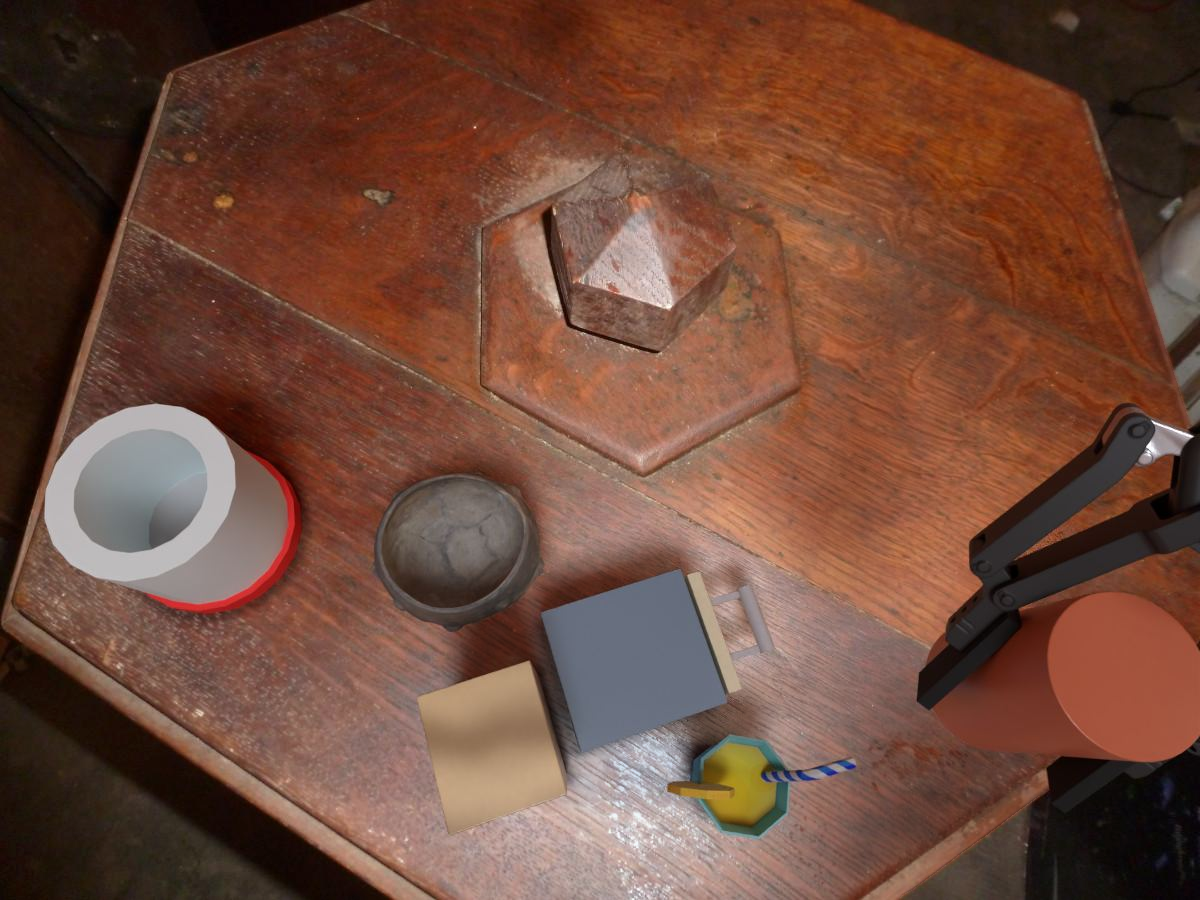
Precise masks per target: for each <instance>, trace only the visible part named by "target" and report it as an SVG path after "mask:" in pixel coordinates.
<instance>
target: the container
mask: <svg viewBox="0 0 1200 900" xmlns="http://www.w3.org/2000/svg"><path fill="white" fill-rule="evenodd" d="M44 492H45V495H44V517H43V519H44V522H45V525H46V528H47V531H48V534H49V537H50V540H51V544H52V545H53V547H54V548H55V549H56V550H57V551H58V552H59V554H61V556H62V557H63V558H64V559H65V560H66V562H67V563H68V564H69V565H71V566H72V567H74V568H76V569H78V570H79V571H82V572H83V573H86V574H87V575H89V576H91V577H93V578H95V579H98V580H101V581H104V582H105V581H106V582H109V583H111V584H115V585H119V586H122V587H126V588H129V589H132V590H134V591H135V590H136V591H139V592H142V593H145V595H147V596H148V597H149V598H151V599H153V600H155V601H158V602H159V603H162V604H163V605H165V606H167V607H169V608H172V609H175V610H178V611H182V612H189V613H197V614H205V615H210V614H217V613H220V612H226V611H232V610H237V609H238V608H240V607H242V606H244V605H246V604H248V603H250V602H252V601H254V600H256V599H259V598H260V597H262V595H264V594H265V593H266V592H267V591H268V590H269V589H270V588H271V587H273V586H274V585H275V584H276V583H277V582H279V580H281V578H282V577H283V575H284V574H285V572H286V571H287V569H288V567H289V566H290V564H291V563H292V561H293V559H294V558H295V556H296V553H297V551H298V546H299V542H300V538H301V534H302V531H303V527H302V525H303V524H302V513H301V504H300V501H299V499H298V497H297V495H296V492H295V490H294V488H293V486H292V484H291V482H290V481H289V480H288V479H287V478H286V477H285V476H284V475H283V474H282V473H281V472H280V471H279V470H278V469H277V468H276V466H274V465H273V464H271V462H269V461H268V460H266V459H265V458H262V457H260V456H258V455H256V454H254V453H252V452H250V451H248V450H245V449H243V447H241V446H240V445H239V444H238V443H237V442H235V440H233V439H232V438H230V437H229V436H228V435H227V434H226V433H224V432H223V431H222V430H221V429H220V428H219V427H218V426H216V425H215V424H214V423H212V422H211V421H210V420H209V419H208V418H206V417H204V416H202V415H200V414H197V413H196V412H194V411H191V410H190V409H188V408H185V407H183V406H175V405H168V404H160V403H152V404H144V405H139V406H130V407H125V408H124V409H121V410H120V411H119V410H118V411H116V412H115V413H112V414H110V415H107V416H105V417H103V418H100V419H98V420H96V422H94V423H93V424H91V426H89V427H88V428H87V429H85V430H84V431H82V433H80V434H79V435H78V436H76V437H75V438H74V439H73V440H72V442H71V443H70V444H69V445H68V446H67V448H66V449H65V451H64V452H63V453H62V455H61V456H60V458H58V460H57V461H56V462H55V465H54V468H53V470H52V473H51V475H50V478H49V481H48V483H47V486H46V489H45V491H44Z"/></svg>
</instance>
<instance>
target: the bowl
mask: <svg viewBox="0 0 1200 900" xmlns="http://www.w3.org/2000/svg"><path fill="white" fill-rule="evenodd" d="M521 493H522V492H521V490H520V489H519V488H518V487H516V485H514V484H505V483H503V482H501V481H499V480H497V479H495V478H492V477H489V476H486V475H483V474H482V473H481V472H479V471H478V472H473V471H472V472H451V473H444V474H439V475H435V476H432V477H428V478H424V479H422V480H419V481H417V482H415V483H413V484H411V485H409V486H408V487H406V488H404V489H401V490H397V491H396V492H395V493H394V494H393V495H392V496H391V500H390V503H389V504H388V506H387V507H386V510H385V512H384V513H383V514H382V517H381V519H380V521H379V523H378V526H377V528H376V533H375V538H374V544H373V545H374V546H373V564H372V566H371V571H372V572H371V575H372V577H373V578H375V579H378V580H380V583H381V584H382V586H383V588H384V589H385V591H386V592H387V593H388V595H389V596H390V597H391V599H392V602H393V603H392V604H393V605H394V606H395V607H396V608H397V609H399V610H400V611H403V612H407V613H408V614H409V615H411V616H412V617H414V618H415V619H417V620H419V621H421V622H424V623H428V624H429V623H430V624H434V625H438V626H440V627H442V628H444V630H446V631H447V632H448V633H458V632H460V630H462V629H463V627H466V626H468V625H473V624H477V623H480V622H482V621H485V620H487V619H489V618H492V617H494V616H495V615H497V614H500V613H501V612H503V611H505V610H508V609H509V608H510V607H511V606H513V605H514V604H516V603H517V602H518V601H519V600H520V599H521V598H522V597H523V596H524V595H525V594H526V593H527V591H528V589H530V587H531V586H532V584H533V583H534V581H536V580H537V579H538V578H539V577H540V576H542V575H543V574H544V573H545V567H546V563H545V561H544V559H543V558H542V556H541V533H540V529H539V526H538V522H537V519H536V516H535V515H534V513H533V511H532V509H531V508H530V506H529V505H528V503H527V501H526V500H525V499H524V497H523V495H522V494H521Z"/></svg>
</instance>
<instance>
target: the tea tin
mask: <svg viewBox="0 0 1200 900" xmlns="http://www.w3.org/2000/svg"><path fill="white" fill-rule="evenodd" d="M1019 613H1020V620H1021V629H1020V630H1018V631H1017V632H1016V633H1015V634H1014V635H1013V636H1012V637H1011V638H1010V639H1009V640H1008V641H1007V642H1005V643H1004V644H1003V645H1002V646H1001V647H1000V648H999V649H998V650H997V651H995V652H994V653H993V654H992V655H991V656H990V657H989V658H988V659H986V660H985V661H984V662H983V663H982V664H981V665H980V666H979V667H978V668H976V669H975V670H974V671H973V672H972V673H971V674H970V675H969V676H967V677H966V678H965V679H964V680H963V681H962V682H961V683H960V684H959V685H957V686H956V687H955V688H954V689H953V690H952V691H951V692H950V693H948V694H947V695H946V696H945V697H944V698H943V699H942V700H941V701H940V702H938V703H937V704H936V705H935V706H934V707H933V708H932V709H931V710H933V712H934V714H935V716H936V718H937V719H938V720H939V722H940V723H941V725H943V727H944V728H945V729H946V730H948V732H950V733H951V734H952V736H954V737H955V738H957V739H958V740H960V741H962V742H963V743H964V744H966V745H968V746H971V747H973V748H977V749H980V750H985V751H990V752H1002V753H1003V752H1005V753H1015V754H1016V753H1018V754H1030V755H1044V756H1053V757H1054V756H1055V757H1061V756H1068V757H1081V758H1094V759H1107V760H1120V761H1133V762H1157V761H1163V760H1166V759H1170V758H1172V759H1174V758H1175V757H1177V756H1178V755H1180V754H1182V753H1184V752H1185V751H1187V750H1186V749H1188V748H1189V747H1190V746H1191V745H1192V744H1193V743H1194V742H1195V741H1196V740H1197V739H1198V737H1199V736H1200V651H1199V649H1198V647H1197V643H1196V642H1195V641H1194V639H1193V637H1192V636H1191V634H1190V633H1189V632H1188V631H1187V630H1186V629H1185V627H1184V626H1183V625H1182V624H1181V623H1180V622H1179V621H1178V620H1177V619H1176V618H1175V617H1174V616H1173V615H1172V614H1170V613H1169V612H1168V611H1167V610H1165V609H1164V608H1162V607H1161V606H1160V605H1158V604H1156V603H1154V602H1152V601H1151V600H1148V599H1146V598H1144V597H1142V596H1138V595H1136V594H1133V593H1128V592H1123V591H1114V590H1112V591H1111V590H1110V591H1109V590H1105V591H1097V592H1093V593H1088V594H1084V595H1080V596H1075V597H1071V598H1066V599H1062V600H1058V601H1054V602H1049V603H1046V604H1041V605H1038V606H1033V607H1028V608H1025V609H1021V610H1020V609H1019ZM948 645H949V643H948V642H946V641H945V632H943V633H942V634H941V635H940V636H939V637H938V638H937V639H936V641H935V642H934V643H933V644H932V647H931V648H930V650H929V652H928V655H927V657H926V662H925V666H926V665H927V664H929V663H930V662H931V661H932V660H933V659H934V658H935V657H936V656H937V655H938V654H939V653H940V652H941V651H942V650H943V649H945V648H946V647H947V646H948ZM925 666H924V667H925Z"/></svg>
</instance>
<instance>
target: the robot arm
mask: <svg viewBox="0 0 1200 900" xmlns="http://www.w3.org/2000/svg"><path fill="white" fill-rule="evenodd" d="M1171 455H1172V456H1173V460H1172V469H1171V477H1170V484H1169V488H1166V489H1163V490H1161V491H1159V492H1157V493H1155V494H1153V495H1150V496H1148V497H1145V498H1143V499H1141V500H1139V501H1137V502H1135V503H1134V504H1132V506H1131V507H1130V508H1129V509H1128V510H1127V511H1124V512H1122V513H1120V514H1118V515H1115V516H1113V517H1111V518H1107V519H1106V520H1103V521H1101V522H1099V523H1097V524H1094V525H1092V526H1090V527H1088V528H1085V529H1083V530H1080V531H1079V532H1076V533H1074V534H1072V535H1069V536H1067V537H1065V538H1062V539H1060V540H1058V541H1055V542H1053V543H1051V544H1048V545H1046V546H1044V547H1042V548H1038V549H1036V550H1035V551H1033V552H1030V553H1028V554H1025V552H1027V551H1028V550H1030V549H1031V548H1032V547H1034V546H1035V545H1036V544H1038V543H1040V541H1042V540H1043V539H1044V538H1046V537H1047V536H1049V535H1050V534H1052V533H1053V532H1054V531H1055V530H1056V529H1058V528H1059V527H1061V526H1063V524H1066V522H1067V521H1069V520H1070V519H1071V518H1072V517H1074V516H1076V515H1077V514H1078V513H1080V512H1081V511H1082V510H1083V509H1085V508H1087V506H1089V505H1090V504H1091V503H1093V502H1094V501H1096V500H1097V499H1098V498H1100V497H1101V496H1102V495H1103V494H1105V493H1106V492H1108V491H1109V490H1110V489H1111V488H1113V487H1114V486H1115V485H1116V484H1118V483H1119V482H1120V481H1122V480H1123V479H1124V478H1125V476H1126V475H1128V473H1129V472H1130V471H1131V470H1132V469H1133V468H1134V467H1136V468H1146V467H1148V466H1151V465H1152V464H1154V463H1155V462H1156V461H1158V459H1161V458H1162V457H1165V456H1171ZM1187 547H1188V548H1190V549H1192V550H1193V551H1194V552H1196V553H1197V554H1198V555H1200V423H1199V424H1196V425H1193V426H1191V427H1189V428H1188V429H1186V428H1184V427H1181V426H1178V425H1175V424H1174V423H1173V424H1172V423H1170V422H1167V421H1165V420H1162V419H1159V418H1156V417H1153V416H1151V415H1149V414H1147V413H1146V412H1145V411H1144V409H1142V408H1141V406H1139V405H1138V404H1136V403H1133V402H1122V403H1121V404H1118V405H1116V406H1115V408H1114V409H1112V411H1111V412H1110V414H1109V416H1108V417H1107V419H1106V421H1105V422H1104V424H1103V425H1102V427H1101V429H1100V430H1099V432H1098V434H1097V435H1096V437H1095V439H1094V440H1093V442H1092V443H1091V444H1090V445H1088V446H1087V447H1086V448H1085V449H1083V450H1082V451H1081V452H1080V453H1078V454H1077V455H1076V456H1075V457H1073V458H1071V460H1069V461H1068V462H1067V463H1066V464H1064V465H1063V466H1062V467H1060V469H1058V470H1057V471H1055V472H1054V473H1053V474H1052V475H1050V476H1049V477H1048V478H1046V479H1045V480H1044V481H1042V482H1041V483H1040V484H1039V485H1037V486H1036V487H1035V488H1034V489H1032V491H1030V492H1028V494H1026V495H1025V496H1024V497H1022V498H1021V499H1020V500H1019V501H1017V502H1016V503H1015V504H1013V505H1012V506H1011V507H1010V508H1008V509H1007V510H1006V511H1004V512H1003V513H1002V514H1001V515H999V516H998V517H997V518H996V519H994V520H993V521H991V523H989V524H988V525H987V526H985V527H984V528H983V529H981V530H980V531H979V532H978V533H977V534H976V535H974V536H973V537H972V538H971V539H970V540H969V542H968V567H969V570H970V572H971V573H972V574H973V575H974V576H975V577H977V578H978V579H979V580H980V582H981V583H982V585H981V586H980V588H978V589H977V590H976V591H975V592H974V593H973V594H972V595H971V596H970V597H969V598H968V599H967V600H966V601H965V602H963V604H962V605H960V607H959V608H958V609H956V610H955V612H953V613H952V615H950V616H949V617H948V619H947V622H946V624H945V630H944V631H945V632H944V633H945V641H946V642H948V643H949V645H948V646H947V647H946V648H945V649H943V650H942V651H941V652H940V653H939V654H938V655H937V656H936V657H935V658H934V659H933V660H932V661H931V662H930V663H929V664H927V665H926V664H925V665H926V666H924V667H923V668H922V669H921V670H920V671H919V672H918V676H917V689H916V702H917V703H918V704H919V705H921V706H922V707H923V708H925V709H926V710H927V711H931V710H933V709H932V708H933V707H934V706H935V705H936V704H937V703H938V702H940V701H941V700H942V699H943V698H944V697H945V696H946V695H947V694H948V693H950V692H951V691H952V690H953V689H954V688H955V687H956V686H957V685H959V684H960V683H961V682H962V681H963V680H964V679H965V678H966V677H967V676H969V675H970V674H971V673H972V672H973V671H974V670H975V669H976V668H978V667H979V666H980V665H981V664H982V663H983V662H984V661H985V660H986V659H988V658H989V657H990V656H991V655H992V654H993V653H994V652H995V651H997V650H998V649H999V648H1000V647H1001V646H1002V645H1003V644H1004V643H1005V642H1007V641H1008V640H1009V639H1010V638H1011V637H1012V636H1013V635H1014V634H1015V633H1016V632H1017V631H1018V630H1020V629H1021V620H1020V613H1019V611H1020V609H1022V608H1023V607H1027V606H1028V605H1031V604H1033V603H1036V602H1038V601H1042V600H1044V599H1046V598H1049V597H1051V596H1054V595H1056V594H1058V593H1061V592H1064V591H1066V590H1069V589H1072V588H1074V587H1077V586H1079V585H1081V584H1083V583H1086V582H1088V581H1090V580H1093V579H1097V578H1098V577H1101V576H1104V575H1105V574H1108V573H1111V572H1113V571H1115V570H1118V569H1120V568H1123V567H1126V566H1129V565H1131V564H1133V563H1135V562H1138V561H1141V560H1143V559H1146V558H1148V557H1151V556H1153V555H1161V556H1162V555H1163V556H1164V555H1169V554H1172V553H1175V552H1178V551H1180V550H1183V549H1186V548H1187ZM1023 554H1025V555H1023ZM1021 555H1023V556H1021ZM1020 556H1021V557H1020ZM1196 645H1197V647H1198V649H1199V651H1200V639H1199V640H1198V642H1197V643H1196ZM1185 751H1187V752H1188V753H1190V754H1192V755H1193V756H1199V757H1200V736H1199V737H1198V739H1197V740H1196V741H1195V742H1194V743H1193V744H1192V745H1191V746H1190V747H1189V748H1188V749H1186V750H1185ZM1172 759H1173V758H1170V759H1166V760H1163V761H1157V762H1133V761H1120V760H1107V759H1094V758H1081V757H1068V756H1058V758H1057V759H1055V760H1054V761H1053V762H1051V763H1050V764H1049V765H1048V766H1046V767H1045V771H1046V778H1047V783H1048V791H1049V798H1050V803H1051V805H1053V806H1054V807H1055V808H1057V809H1058V810H1059V811H1061V812H1062V813H1063V814H1066V813H1068V812H1069V811H1071V810H1073V808H1075V807H1076V806H1078V805H1079V804H1080V803H1082V802H1084V801H1085V800H1087V798H1089V797H1090V796H1092V795H1093V794H1094V793H1096V792H1097V791H1099V790H1101V788H1103V787H1104V786H1106V785H1107V784H1108V783H1110V782H1111V781H1113V780H1114V779H1115V778H1117V777H1118V776H1120V775H1121V774H1123V773H1125V774H1126V775H1128V776H1129V777H1130V778H1132V779H1133V780H1137V779H1141V778H1145V777H1148V776H1149V775H1151V774H1152V773H1153V772H1155V771H1156V770H1158V769H1159V768H1161V767H1162V766H1163V765H1164V764H1166V763H1168V762H1169V761H1170V760H1172Z"/></svg>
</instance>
